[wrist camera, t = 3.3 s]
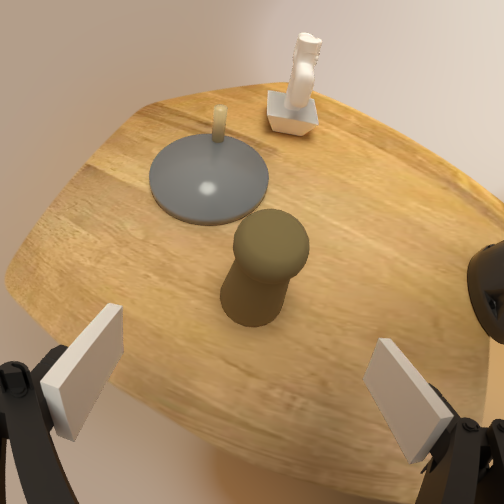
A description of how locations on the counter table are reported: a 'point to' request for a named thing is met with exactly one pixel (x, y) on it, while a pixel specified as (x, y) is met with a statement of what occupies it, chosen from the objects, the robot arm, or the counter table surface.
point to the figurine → (297, 92)
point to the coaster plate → (209, 176)
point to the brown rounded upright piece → (263, 266)
